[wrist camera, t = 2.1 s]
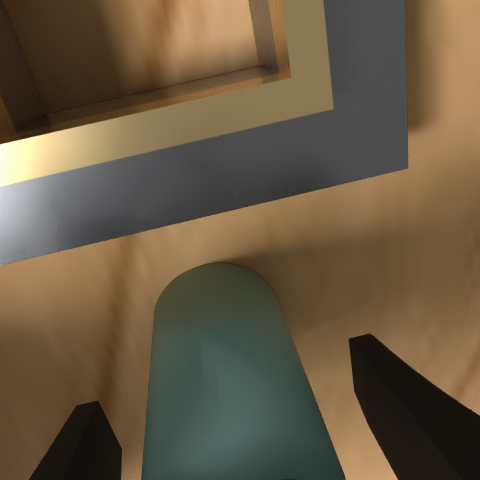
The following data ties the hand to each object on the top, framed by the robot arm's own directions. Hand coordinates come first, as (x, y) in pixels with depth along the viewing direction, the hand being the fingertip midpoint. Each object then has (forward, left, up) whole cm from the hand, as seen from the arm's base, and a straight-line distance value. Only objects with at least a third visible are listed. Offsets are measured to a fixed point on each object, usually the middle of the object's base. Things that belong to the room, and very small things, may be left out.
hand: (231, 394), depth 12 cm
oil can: (0, 0, -4) cm, 4 cm away
